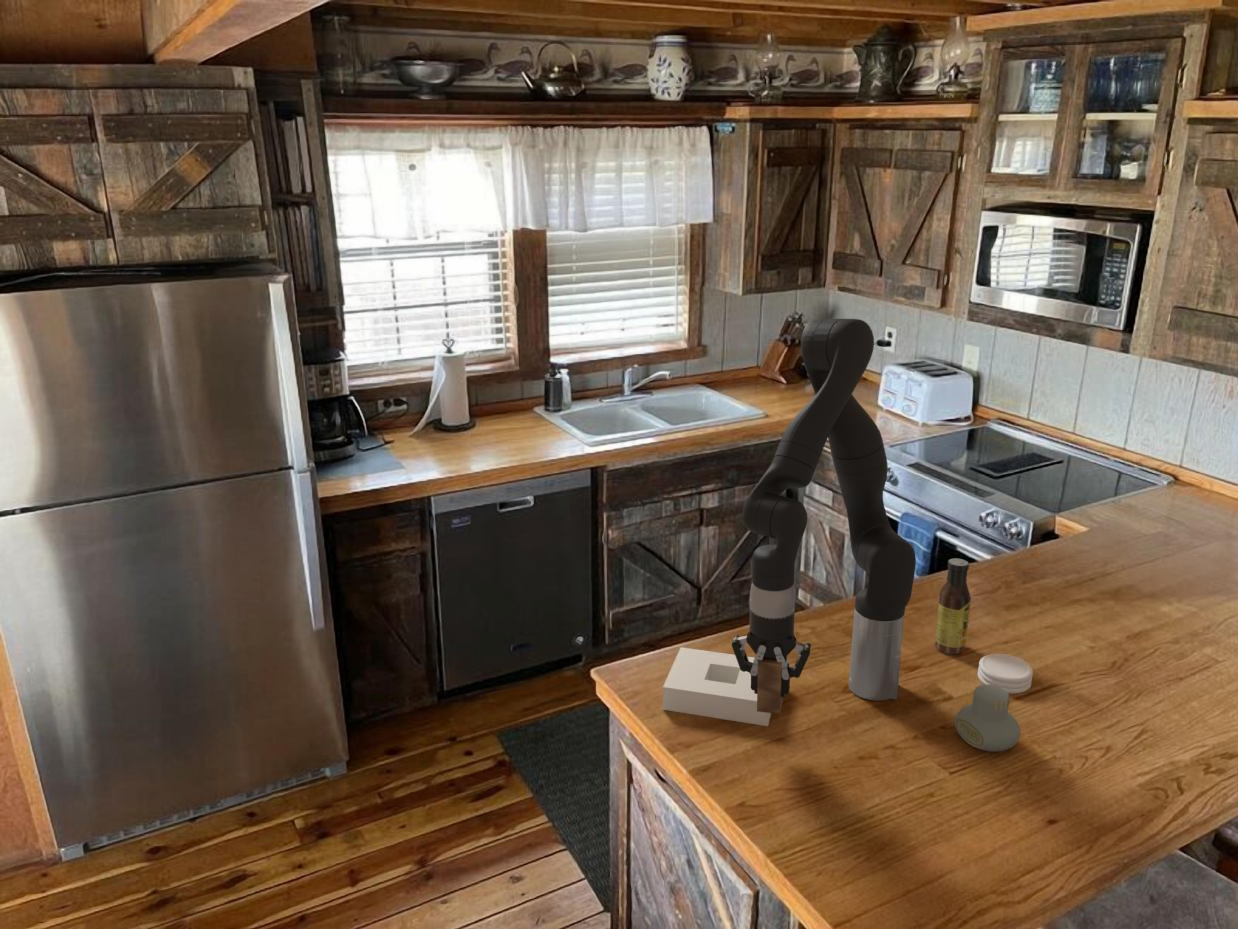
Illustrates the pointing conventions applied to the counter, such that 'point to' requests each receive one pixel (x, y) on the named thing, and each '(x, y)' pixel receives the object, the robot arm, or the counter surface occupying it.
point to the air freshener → (988, 720)
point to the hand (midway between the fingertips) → (769, 692)
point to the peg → (769, 686)
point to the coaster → (1005, 672)
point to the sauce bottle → (953, 609)
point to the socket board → (711, 687)
